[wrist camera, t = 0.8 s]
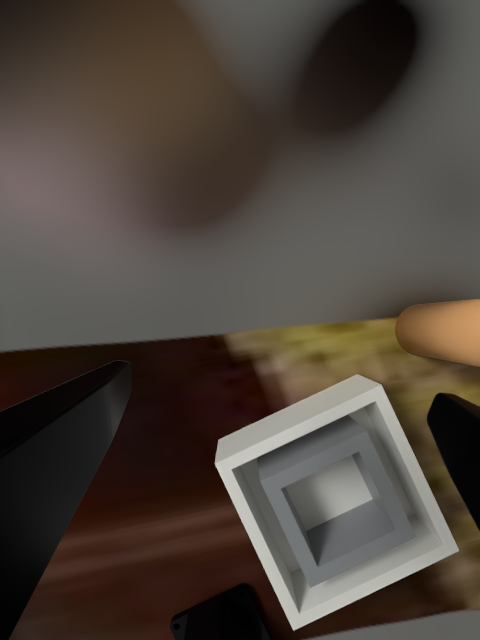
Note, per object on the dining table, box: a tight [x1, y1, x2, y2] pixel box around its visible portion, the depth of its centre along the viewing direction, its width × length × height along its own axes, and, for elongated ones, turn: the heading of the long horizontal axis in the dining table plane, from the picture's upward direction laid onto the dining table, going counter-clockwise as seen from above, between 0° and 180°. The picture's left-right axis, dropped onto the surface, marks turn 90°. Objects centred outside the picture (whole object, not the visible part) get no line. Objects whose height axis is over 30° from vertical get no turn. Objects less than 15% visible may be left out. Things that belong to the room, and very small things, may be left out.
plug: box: [395, 299, 480, 367], centre depth 19 cm, size 4×4×11 cm
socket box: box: [215, 374, 459, 631], centre depth 22 cm, size 12×12×4 cm
